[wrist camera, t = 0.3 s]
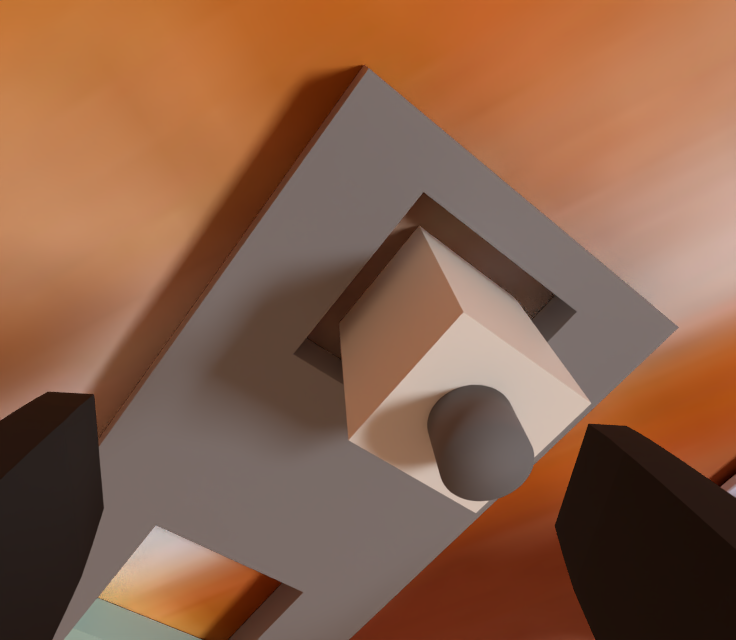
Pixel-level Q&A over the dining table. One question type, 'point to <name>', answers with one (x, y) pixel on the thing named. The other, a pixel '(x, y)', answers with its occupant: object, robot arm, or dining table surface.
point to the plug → (451, 376)
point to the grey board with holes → (324, 385)
